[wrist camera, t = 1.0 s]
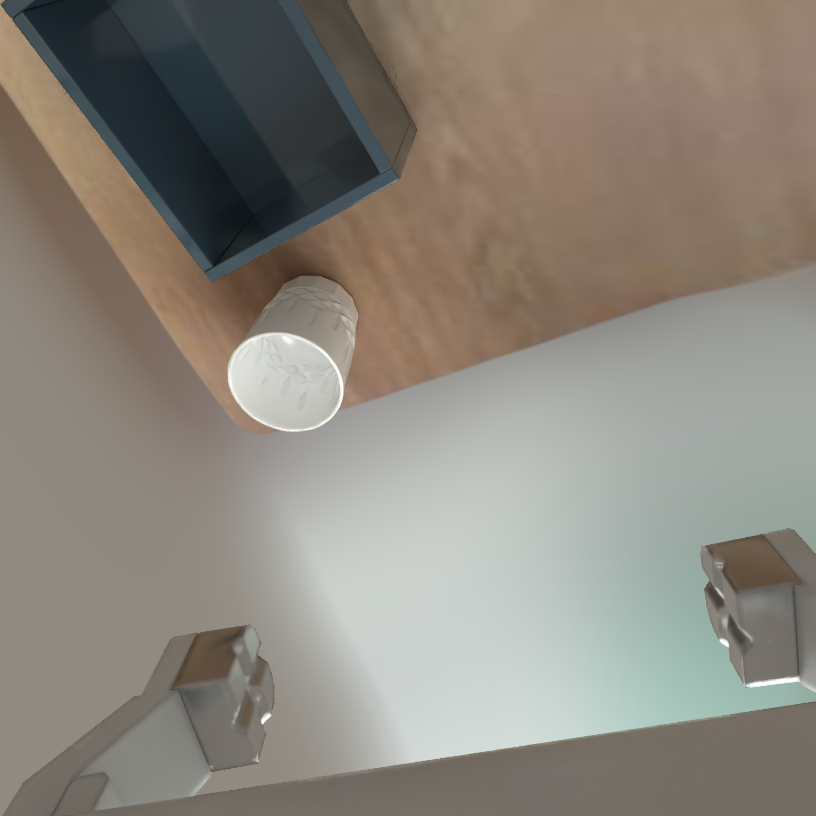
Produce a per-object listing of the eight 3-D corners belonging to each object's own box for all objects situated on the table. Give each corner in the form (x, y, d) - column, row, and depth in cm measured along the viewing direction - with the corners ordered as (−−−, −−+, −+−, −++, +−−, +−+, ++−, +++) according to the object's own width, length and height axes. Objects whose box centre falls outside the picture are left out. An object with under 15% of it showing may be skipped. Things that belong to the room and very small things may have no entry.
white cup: (331, 250, 56) (301, 314, 48) (384, 335, 59) (364, 408, 51) (246, 292, 58) (203, 359, 50) (301, 371, 62) (270, 446, 54)
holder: (87, -18, 47) (-1, 4, 39) (260, -157, 42) (200, -164, 34) (255, 222, 55) (211, 283, 47) (417, 130, 50) (399, 179, 42)
